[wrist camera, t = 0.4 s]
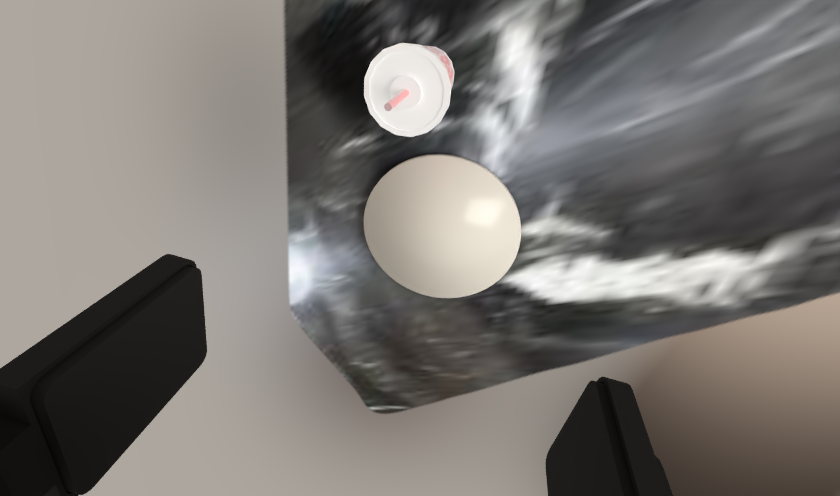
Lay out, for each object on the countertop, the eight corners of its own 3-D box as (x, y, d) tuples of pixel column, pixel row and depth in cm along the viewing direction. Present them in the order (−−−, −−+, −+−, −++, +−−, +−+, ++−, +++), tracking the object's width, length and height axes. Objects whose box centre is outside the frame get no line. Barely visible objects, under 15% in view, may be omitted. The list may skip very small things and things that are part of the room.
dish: (382, 131, 40) (378, 135, 39) (545, 180, 39) (546, 185, 38) (356, 267, 48) (353, 272, 47) (490, 309, 47) (490, 315, 46)
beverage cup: (478, 69, 36) (461, 100, 24) (433, 125, 39) (398, 177, 27) (422, 18, 35) (375, 23, 23) (380, 79, 38) (319, 113, 26)
